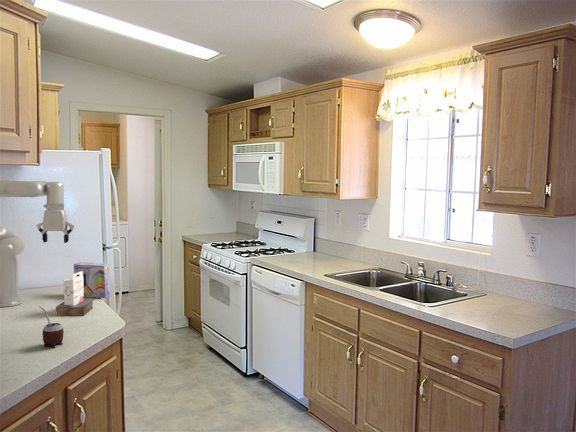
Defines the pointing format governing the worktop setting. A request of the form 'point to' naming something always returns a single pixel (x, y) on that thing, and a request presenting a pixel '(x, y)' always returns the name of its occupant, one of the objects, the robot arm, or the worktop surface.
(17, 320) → the worktop surface
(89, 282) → the cake pan box
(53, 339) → the mate gourd
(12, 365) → the worktop surface
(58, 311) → the display podium
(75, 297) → the ink cartridge box
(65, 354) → the worktop surface
